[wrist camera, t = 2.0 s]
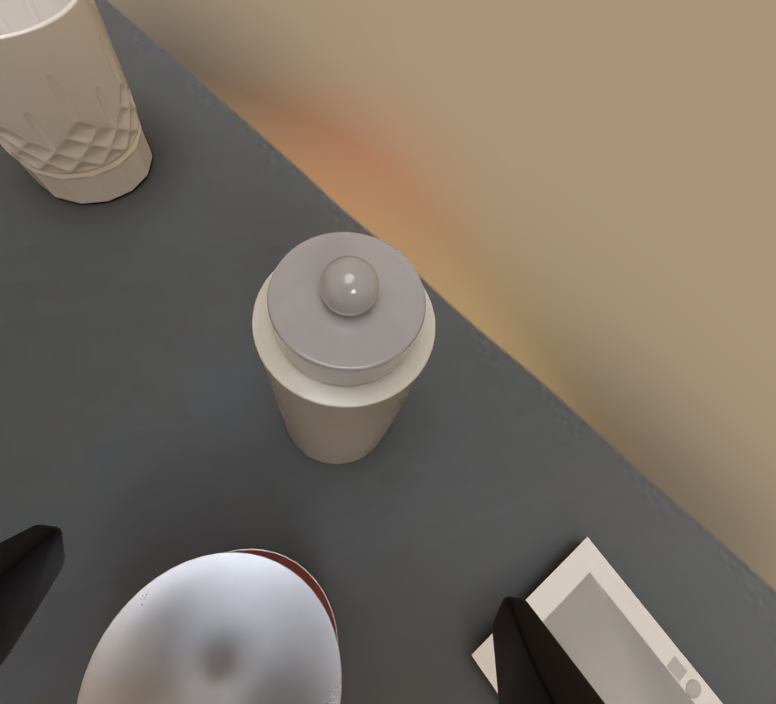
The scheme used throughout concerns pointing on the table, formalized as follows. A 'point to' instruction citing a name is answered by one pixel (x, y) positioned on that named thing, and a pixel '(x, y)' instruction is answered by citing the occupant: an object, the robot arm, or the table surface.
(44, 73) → the white cup
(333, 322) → the pepper mill
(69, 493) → the table surface
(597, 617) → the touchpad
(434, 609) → the table surface
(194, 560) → the sauce tin
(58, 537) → the robot arm
